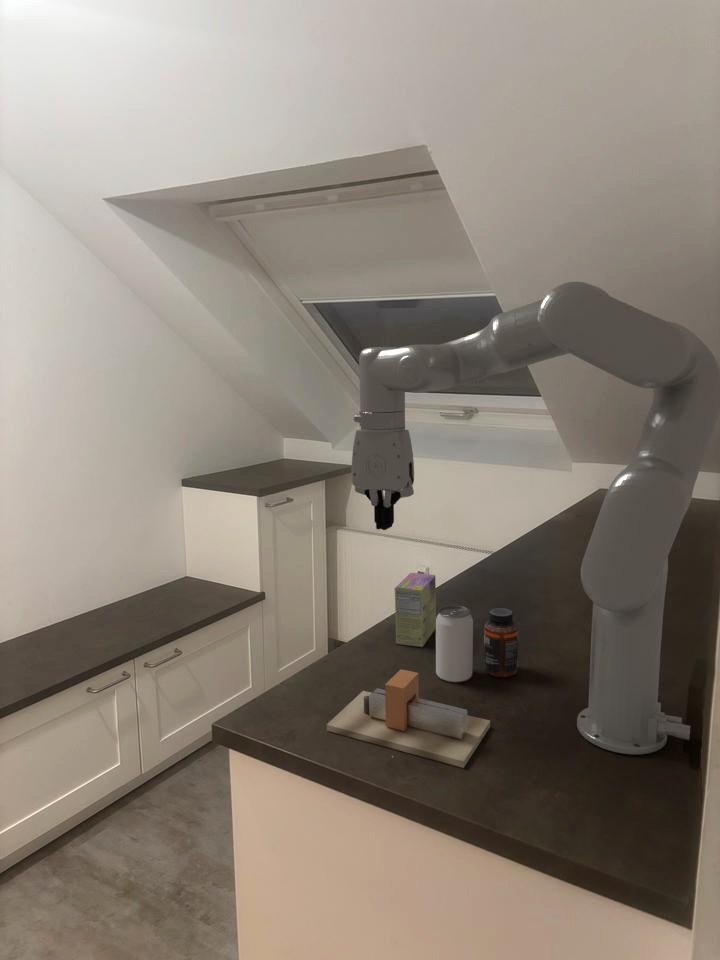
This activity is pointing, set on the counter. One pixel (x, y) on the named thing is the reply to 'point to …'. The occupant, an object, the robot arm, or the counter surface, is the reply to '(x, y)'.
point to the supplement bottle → (501, 644)
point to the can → (454, 644)
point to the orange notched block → (400, 697)
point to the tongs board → (408, 734)
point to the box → (415, 609)
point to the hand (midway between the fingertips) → (384, 527)
